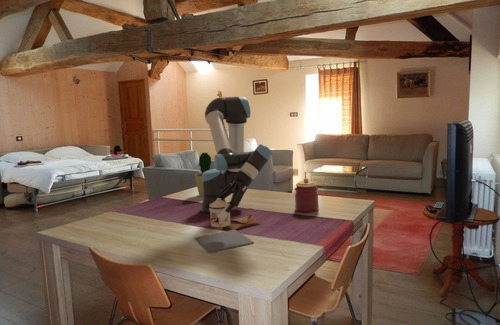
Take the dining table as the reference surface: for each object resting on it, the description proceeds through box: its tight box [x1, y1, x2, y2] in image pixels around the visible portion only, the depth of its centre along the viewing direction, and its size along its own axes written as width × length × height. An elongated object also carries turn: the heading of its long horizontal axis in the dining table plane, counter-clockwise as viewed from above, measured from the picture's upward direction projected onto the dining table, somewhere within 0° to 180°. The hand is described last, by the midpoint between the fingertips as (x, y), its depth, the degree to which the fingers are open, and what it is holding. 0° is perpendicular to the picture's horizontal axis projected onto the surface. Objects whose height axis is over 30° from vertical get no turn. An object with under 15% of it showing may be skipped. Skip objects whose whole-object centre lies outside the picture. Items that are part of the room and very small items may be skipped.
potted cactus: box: [194, 152, 212, 198], centre depth 253 cm, size 15×15×30 cm
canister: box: [293, 177, 320, 213], centre depth 206 cm, size 13×13×18 cm
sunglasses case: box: [222, 214, 261, 231], centre depth 184 cm, size 18×7×7 cm, turn 127°
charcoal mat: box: [194, 230, 255, 254], centre depth 164 cm, size 20×20×1 cm
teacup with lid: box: [209, 198, 231, 228], centre depth 162 cm, size 12×9×12 cm
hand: (216, 214), depth 161 cm, fingers closed on teacup with lid, 12 cm apart
